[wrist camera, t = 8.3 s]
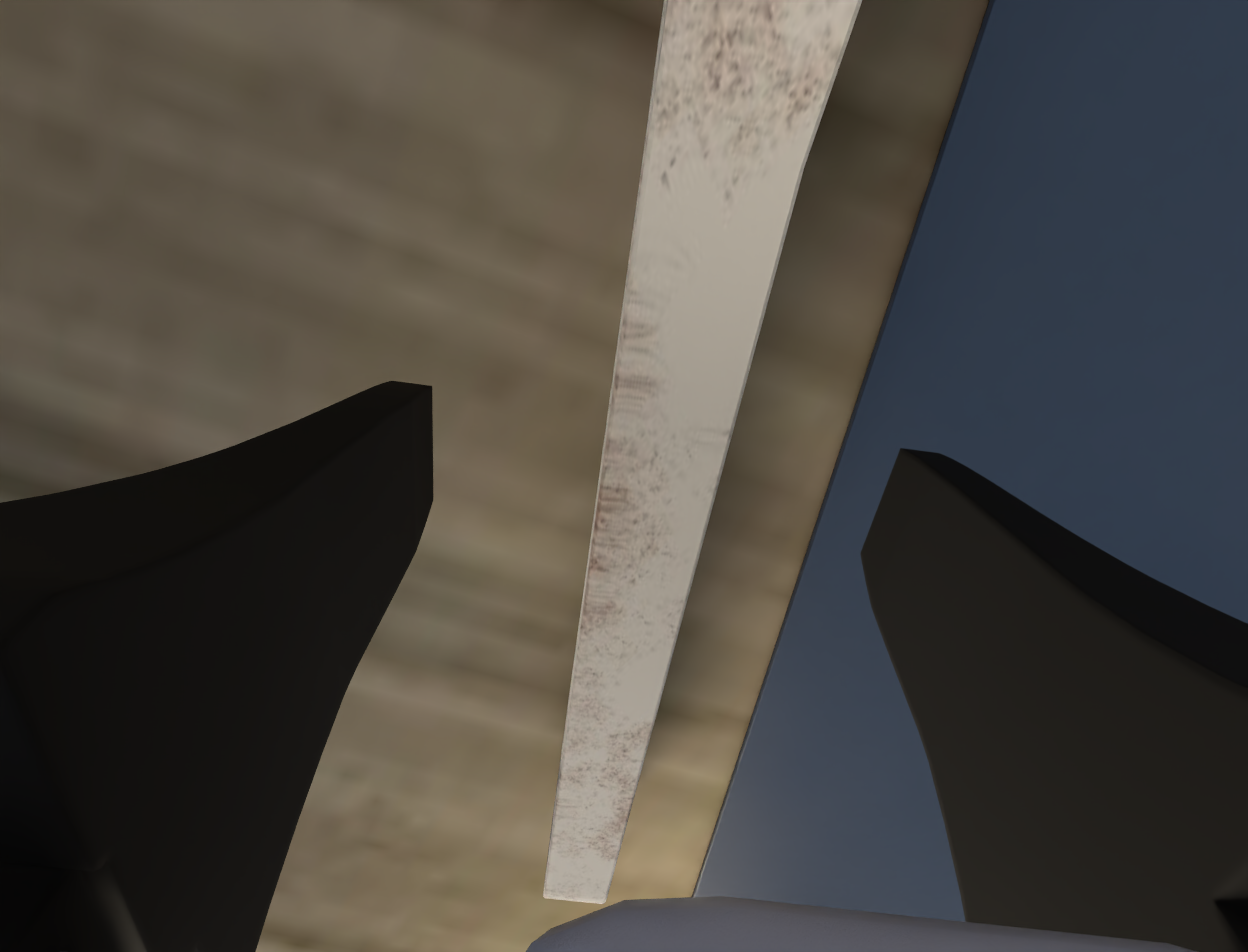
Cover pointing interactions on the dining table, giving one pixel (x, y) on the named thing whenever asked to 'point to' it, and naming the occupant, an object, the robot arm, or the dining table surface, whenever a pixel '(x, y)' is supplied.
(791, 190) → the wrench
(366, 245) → the dining table surface
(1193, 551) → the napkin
